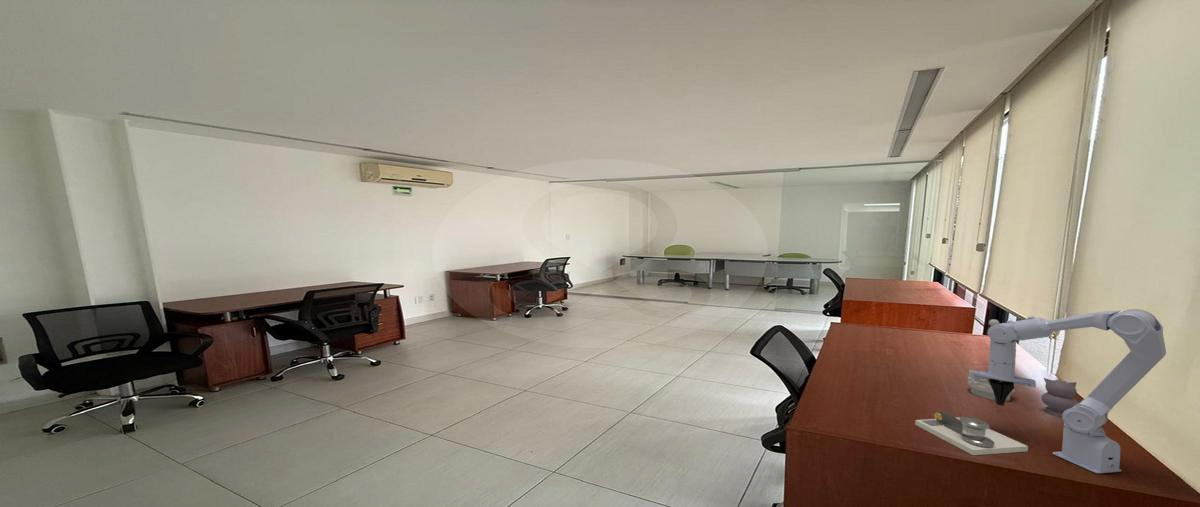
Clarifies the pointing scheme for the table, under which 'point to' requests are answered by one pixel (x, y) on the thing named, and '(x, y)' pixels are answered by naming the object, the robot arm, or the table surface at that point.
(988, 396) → the flag stand
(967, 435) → the capstan
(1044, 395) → the grey wavy vase
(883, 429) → the table surface
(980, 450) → the stand
